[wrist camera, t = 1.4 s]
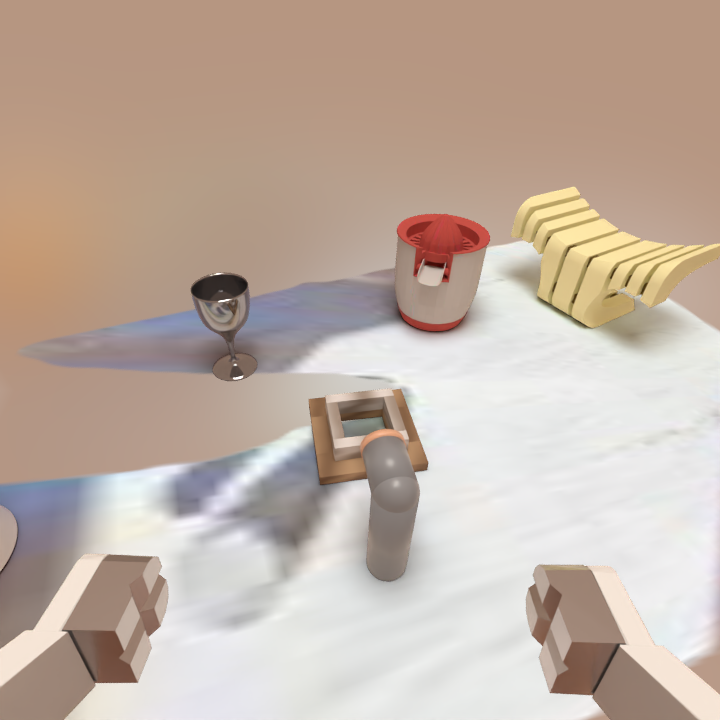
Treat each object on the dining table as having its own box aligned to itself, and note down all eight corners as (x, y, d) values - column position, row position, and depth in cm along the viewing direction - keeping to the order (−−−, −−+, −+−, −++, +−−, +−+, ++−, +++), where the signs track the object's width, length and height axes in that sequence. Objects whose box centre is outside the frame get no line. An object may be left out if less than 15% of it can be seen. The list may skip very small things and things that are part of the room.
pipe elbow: (412, 577, 49) (429, 493, 39) (369, 584, 48) (377, 501, 38) (394, 512, 55) (406, 426, 45) (356, 518, 54) (360, 432, 44)
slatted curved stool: (499, 281, 99) (519, 199, 87) (549, 264, 105) (574, 186, 94) (624, 358, 79) (671, 265, 68) (675, 331, 86) (726, 242, 74)
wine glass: (259, 349, 78) (247, 270, 69) (260, 379, 72) (248, 298, 63) (211, 353, 77) (192, 274, 67) (208, 385, 71) (188, 303, 61)
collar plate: (320, 484, 57) (319, 465, 55) (309, 406, 68) (307, 386, 66) (426, 469, 60) (430, 450, 57) (400, 396, 70) (402, 376, 68)
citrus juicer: (377, 334, 83) (384, 229, 70) (401, 288, 95) (410, 191, 83) (463, 353, 79) (487, 245, 66) (476, 302, 92) (498, 204, 79)
